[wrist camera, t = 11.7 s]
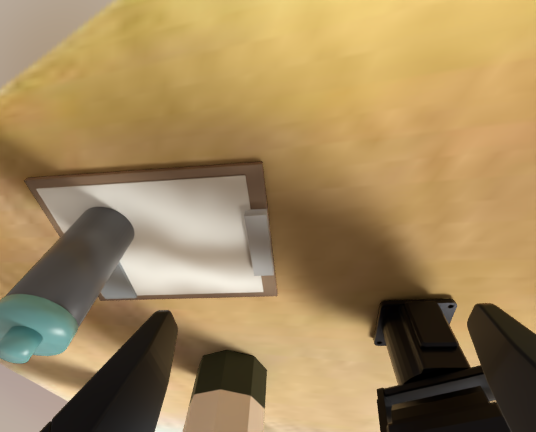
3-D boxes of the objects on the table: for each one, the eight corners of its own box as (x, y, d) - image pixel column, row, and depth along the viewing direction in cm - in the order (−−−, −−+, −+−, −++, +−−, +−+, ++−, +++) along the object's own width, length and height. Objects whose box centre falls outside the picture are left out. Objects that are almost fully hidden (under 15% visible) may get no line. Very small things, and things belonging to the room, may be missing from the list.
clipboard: (277, 292, 27) (277, 303, 26) (102, 297, 29) (96, 307, 28) (262, 161, 20) (261, 169, 19) (27, 177, 21) (15, 185, 20)
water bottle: (142, 246, 24) (70, 374, 16) (95, 249, 24) (-1, 376, 16) (122, 204, 22) (24, 329, 13) (70, 208, 22) (-57, 332, 14)
